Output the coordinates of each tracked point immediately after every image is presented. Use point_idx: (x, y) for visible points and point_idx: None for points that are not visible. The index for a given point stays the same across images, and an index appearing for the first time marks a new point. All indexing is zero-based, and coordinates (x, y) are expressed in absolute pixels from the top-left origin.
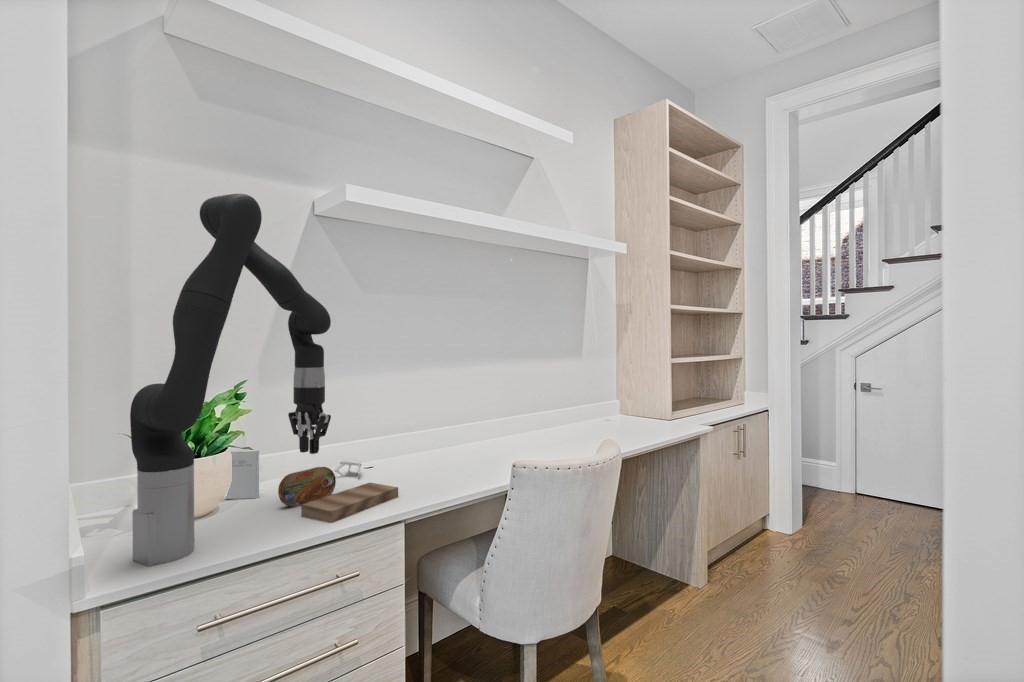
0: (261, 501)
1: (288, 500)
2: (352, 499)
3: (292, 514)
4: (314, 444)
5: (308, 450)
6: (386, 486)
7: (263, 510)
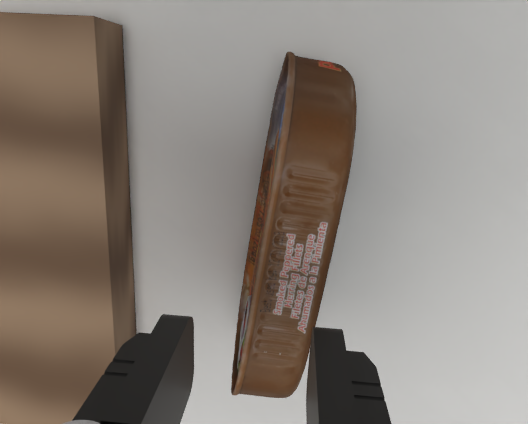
0: (521, 119)
1: (285, 94)
2: None
3: (200, 41)
4: (96, 387)
5: (307, 398)
6: (4, 412)
7: (387, 16)
